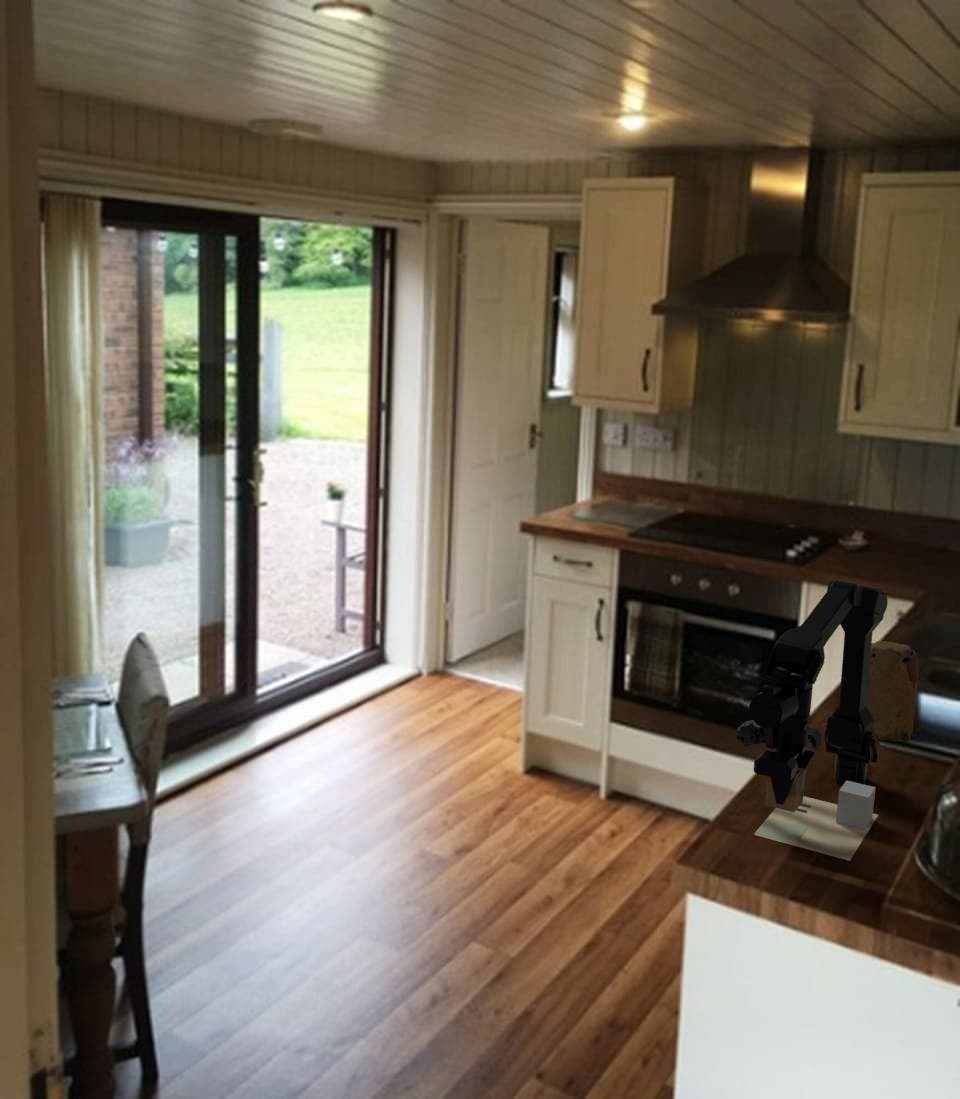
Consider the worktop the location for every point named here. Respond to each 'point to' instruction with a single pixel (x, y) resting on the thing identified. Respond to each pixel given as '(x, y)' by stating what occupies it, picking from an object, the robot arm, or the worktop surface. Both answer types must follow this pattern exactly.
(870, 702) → the block
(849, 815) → the grey block
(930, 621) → the worktop surface
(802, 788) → the walnut block
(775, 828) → the board
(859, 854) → the worktop surface
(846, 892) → the worktop surface
